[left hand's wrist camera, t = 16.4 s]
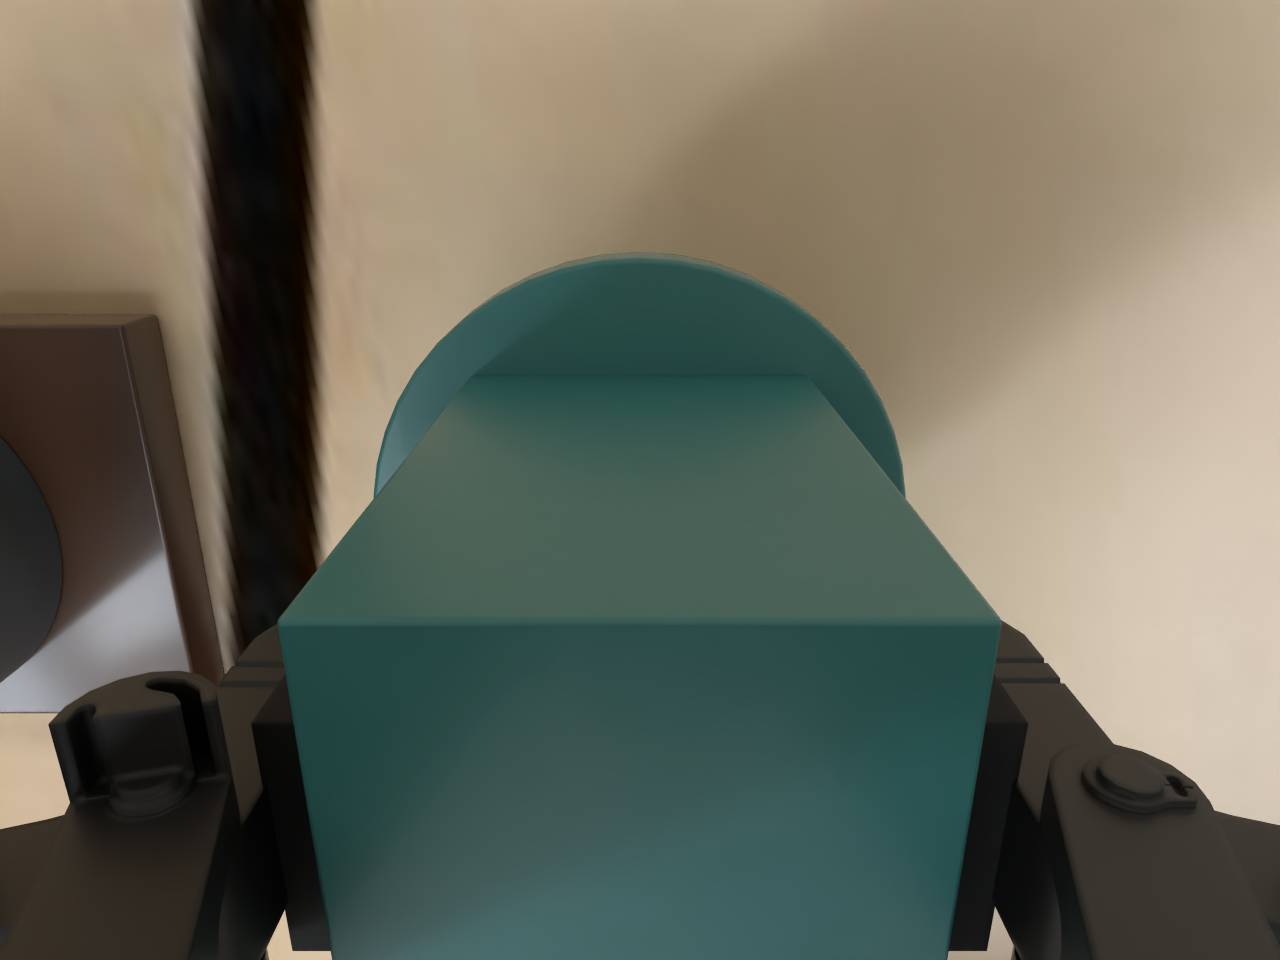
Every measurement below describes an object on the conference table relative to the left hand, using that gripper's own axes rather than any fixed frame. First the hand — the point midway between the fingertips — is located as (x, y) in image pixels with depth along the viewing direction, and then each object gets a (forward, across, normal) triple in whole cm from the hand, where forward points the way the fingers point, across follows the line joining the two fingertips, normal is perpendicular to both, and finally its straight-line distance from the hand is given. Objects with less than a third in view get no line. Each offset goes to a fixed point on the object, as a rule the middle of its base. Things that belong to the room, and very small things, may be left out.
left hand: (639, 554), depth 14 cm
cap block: (+2, 0, 0) cm, 2 cm away
